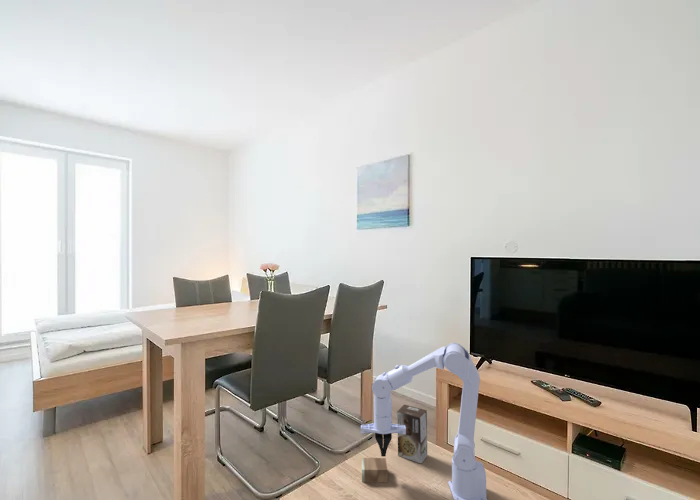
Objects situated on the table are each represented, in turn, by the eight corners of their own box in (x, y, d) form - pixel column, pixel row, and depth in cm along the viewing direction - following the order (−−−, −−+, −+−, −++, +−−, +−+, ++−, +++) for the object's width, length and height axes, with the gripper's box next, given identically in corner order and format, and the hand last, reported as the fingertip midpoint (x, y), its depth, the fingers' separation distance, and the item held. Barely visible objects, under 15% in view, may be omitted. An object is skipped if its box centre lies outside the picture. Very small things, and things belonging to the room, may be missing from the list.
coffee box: (428, 454, 122) (427, 409, 122) (421, 464, 117) (420, 417, 116) (404, 446, 127) (404, 403, 127) (396, 455, 122) (396, 410, 121)
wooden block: (385, 458, 114) (361, 457, 114) (387, 469, 108) (361, 469, 108) (385, 469, 114) (362, 469, 114) (387, 482, 108) (362, 482, 108)
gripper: (403, 407, 115) (404, 447, 115) (360, 407, 115) (361, 447, 115) (406, 418, 107) (406, 460, 108) (360, 417, 108) (361, 460, 108)
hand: (383, 454), depth 111 cm, fingers closed
